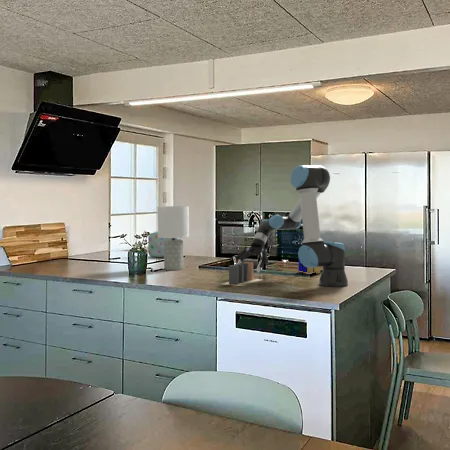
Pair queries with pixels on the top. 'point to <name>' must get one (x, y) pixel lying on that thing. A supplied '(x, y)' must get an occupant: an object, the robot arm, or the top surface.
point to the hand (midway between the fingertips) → (246, 270)
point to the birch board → (244, 282)
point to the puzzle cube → (308, 268)
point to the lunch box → (156, 245)
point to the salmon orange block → (250, 270)
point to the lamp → (173, 233)
